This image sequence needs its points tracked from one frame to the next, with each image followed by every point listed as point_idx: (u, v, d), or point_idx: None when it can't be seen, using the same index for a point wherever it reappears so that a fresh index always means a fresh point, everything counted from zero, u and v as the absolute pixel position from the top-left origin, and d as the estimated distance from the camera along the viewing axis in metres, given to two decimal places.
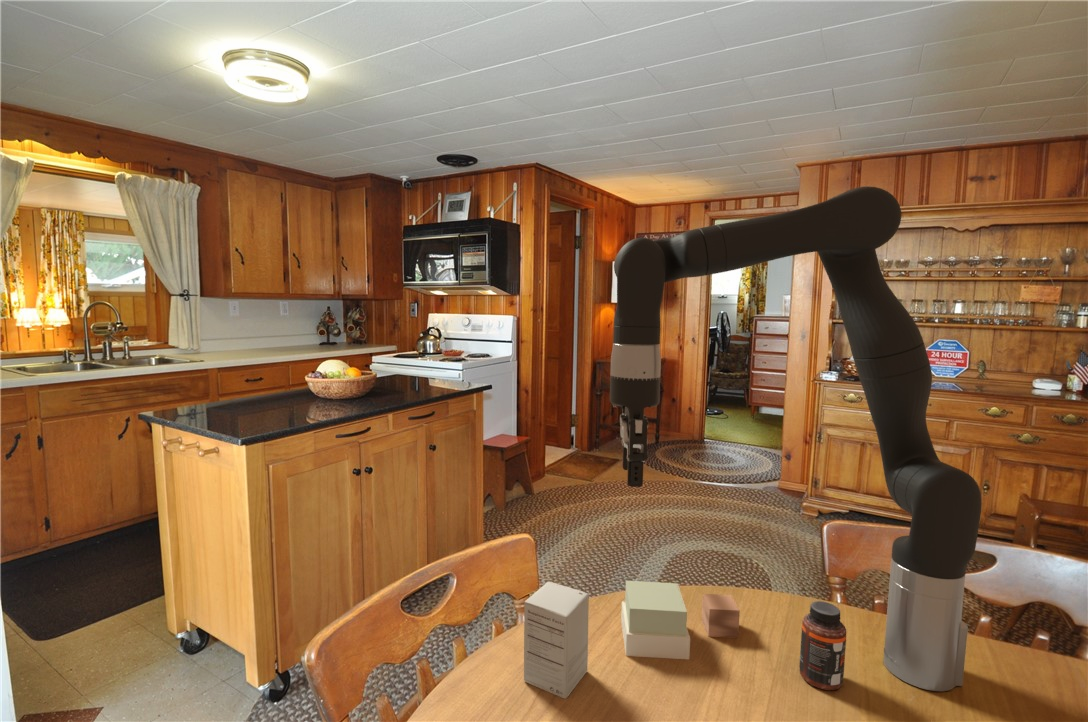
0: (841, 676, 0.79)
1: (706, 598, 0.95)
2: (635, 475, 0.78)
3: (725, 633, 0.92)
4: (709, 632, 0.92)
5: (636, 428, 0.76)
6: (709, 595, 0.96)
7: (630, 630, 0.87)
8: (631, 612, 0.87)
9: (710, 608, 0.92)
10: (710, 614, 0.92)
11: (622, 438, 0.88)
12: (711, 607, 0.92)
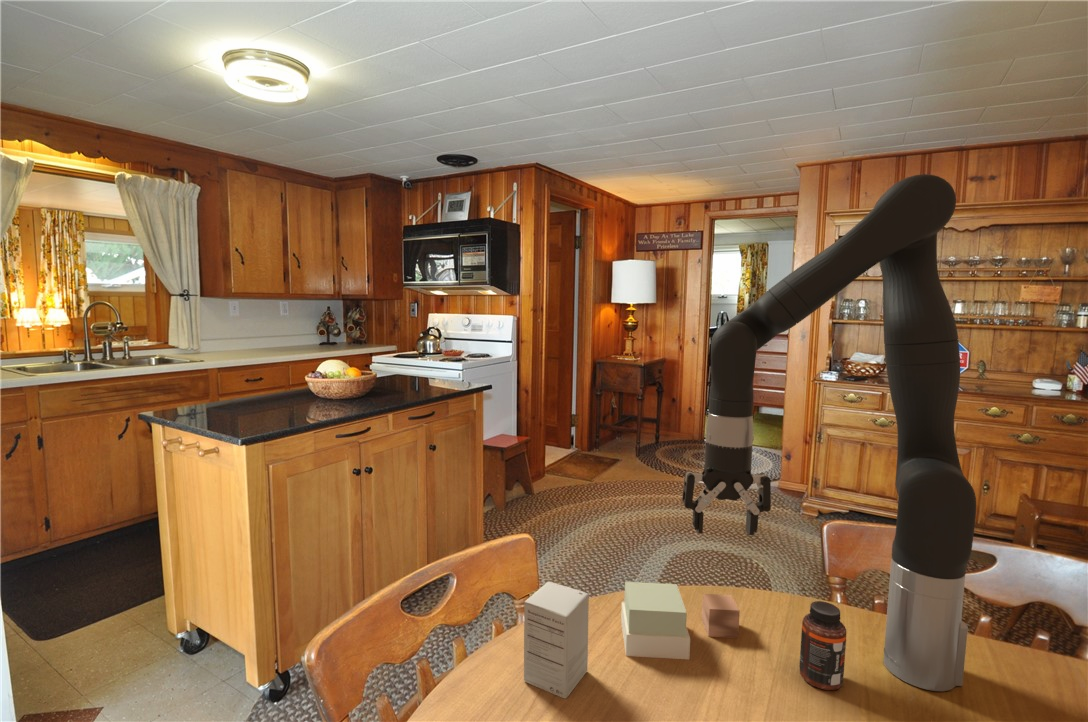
0: (841, 676, 0.79)
1: (706, 598, 0.95)
2: None
3: (725, 633, 0.92)
4: (709, 632, 0.92)
5: None
6: (709, 595, 0.96)
7: (630, 631, 0.87)
8: (631, 613, 0.86)
9: (710, 608, 0.92)
10: (710, 614, 0.92)
11: (697, 506, 0.92)
12: (711, 607, 0.92)
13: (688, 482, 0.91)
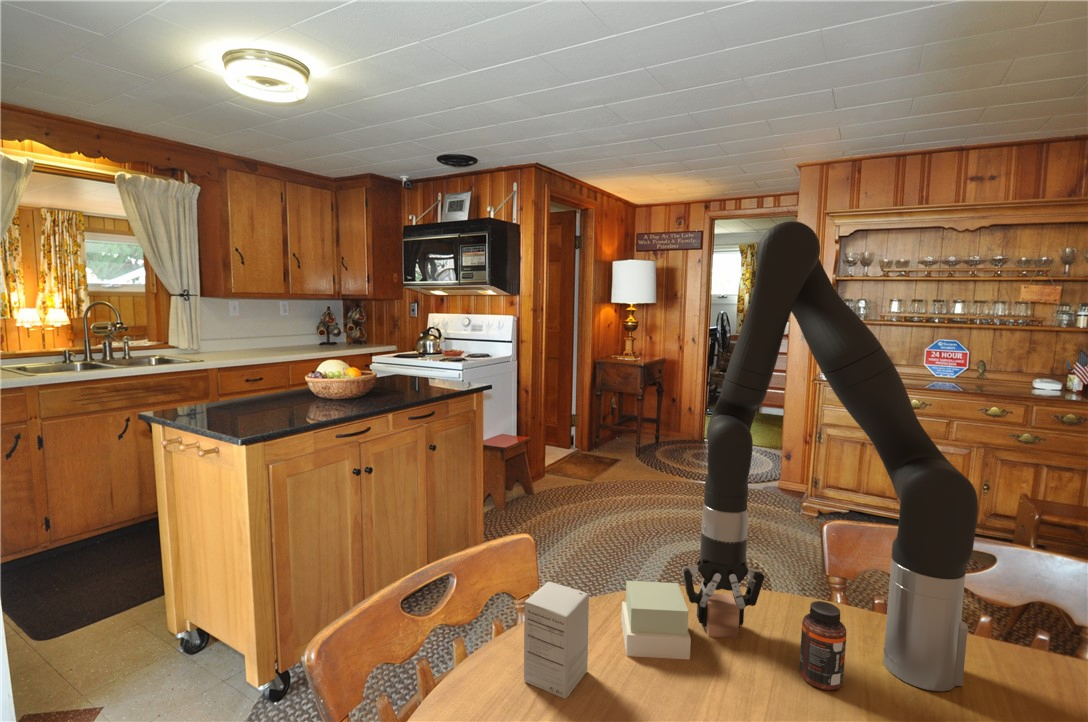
0: (841, 676, 0.79)
1: None
2: None
3: (725, 632, 0.92)
4: (709, 631, 0.92)
5: None
6: None
7: (632, 630, 0.87)
8: (633, 612, 0.87)
9: (710, 607, 0.92)
10: (710, 613, 0.92)
11: (701, 601, 0.93)
12: (711, 606, 0.92)
13: (686, 578, 0.93)
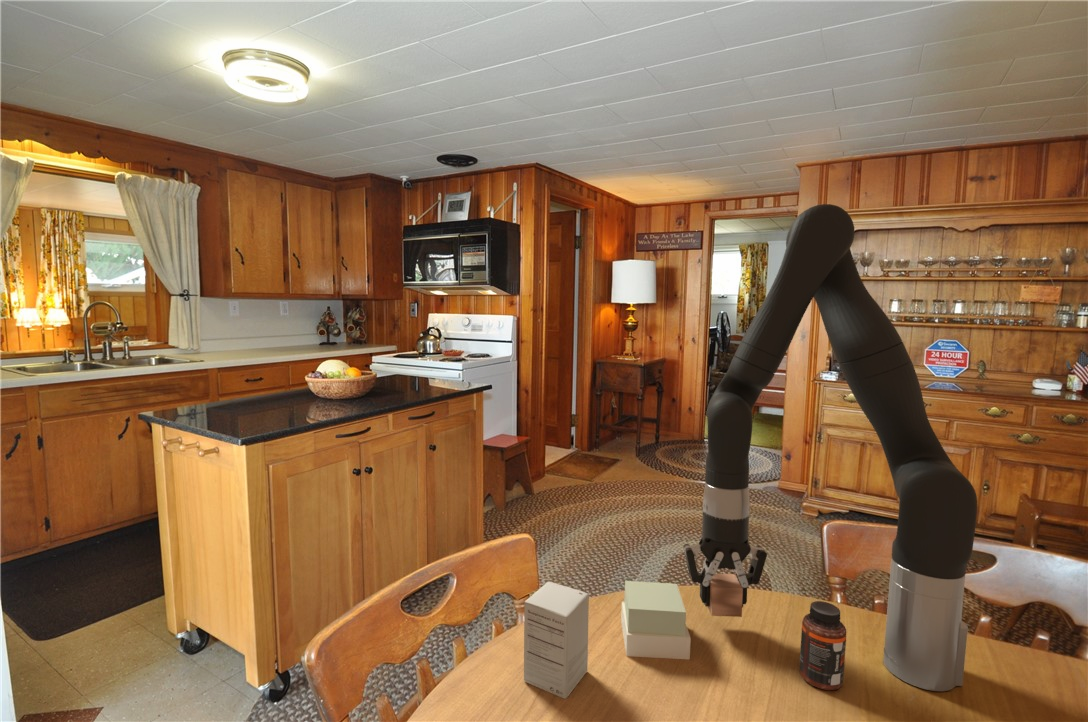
0: (841, 676, 0.79)
1: None
2: None
3: (728, 611, 0.91)
4: (713, 611, 0.92)
5: None
6: None
7: (629, 630, 0.87)
8: (630, 612, 0.87)
9: (713, 586, 0.91)
10: (713, 592, 0.91)
11: (704, 580, 0.93)
12: (714, 585, 0.92)
13: (688, 558, 0.92)
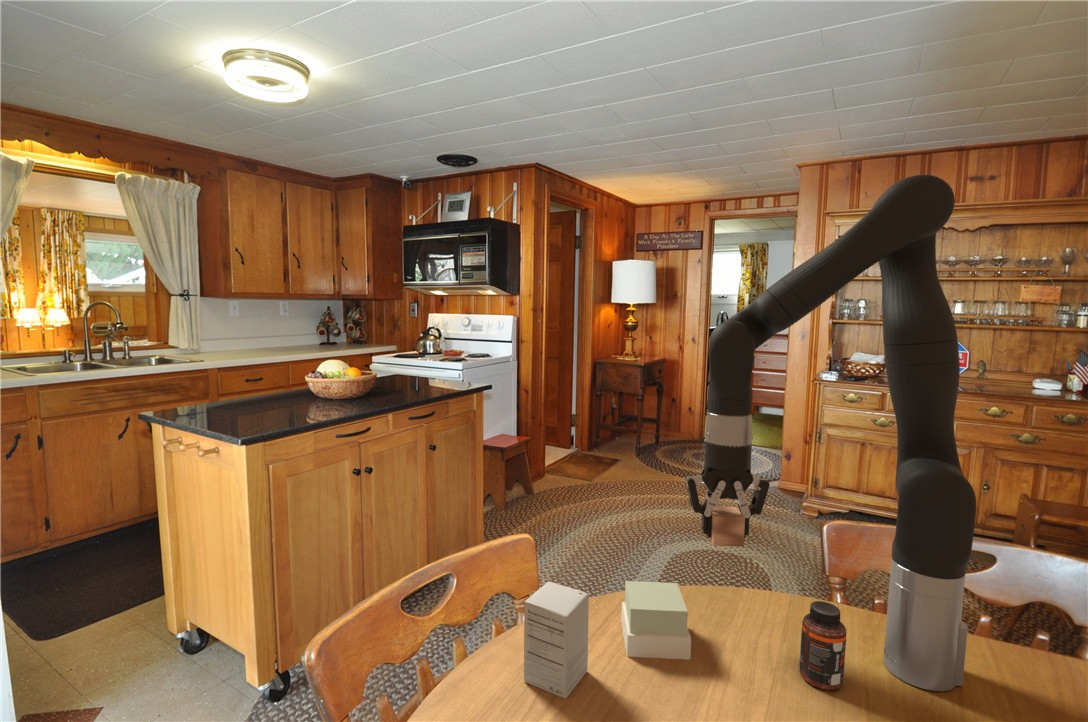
0: (841, 676, 0.79)
1: None
2: None
3: (730, 541, 0.90)
4: (714, 541, 0.91)
5: None
6: (714, 507, 0.95)
7: (631, 631, 0.87)
8: (632, 613, 0.87)
9: (715, 516, 0.91)
10: (715, 522, 0.90)
11: (705, 510, 0.92)
12: (716, 515, 0.91)
13: (690, 487, 0.91)
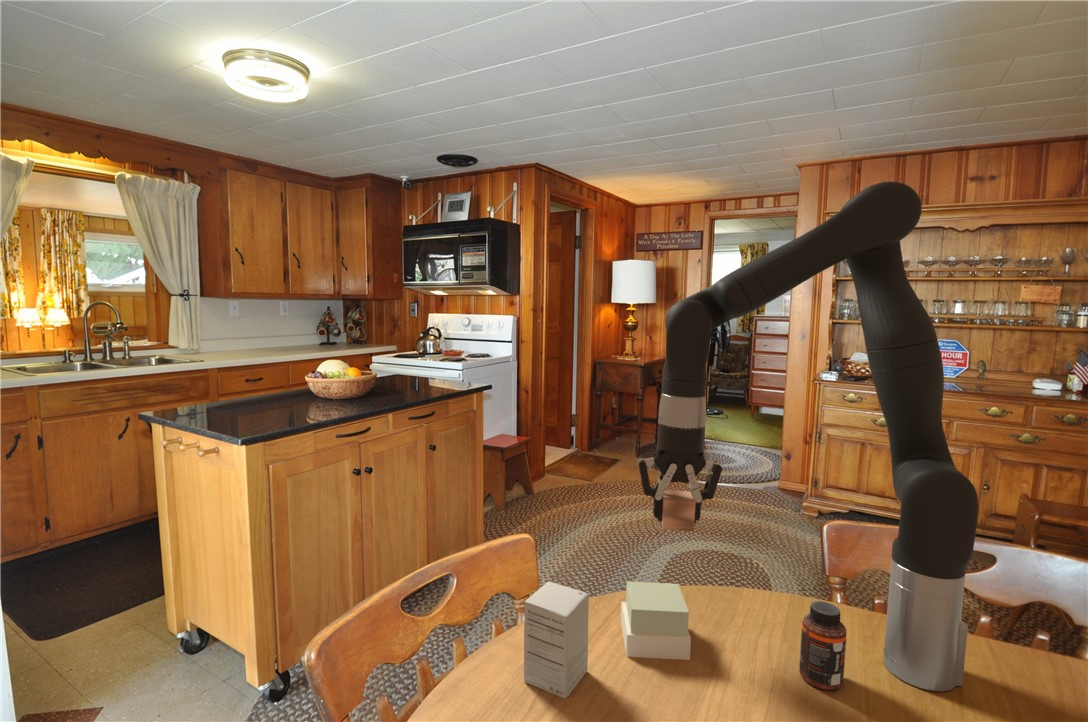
0: (841, 676, 0.79)
1: None
2: None
3: (680, 525, 0.89)
4: (664, 524, 0.89)
5: None
6: (667, 491, 0.93)
7: (632, 631, 0.87)
8: (633, 613, 0.86)
9: (665, 499, 0.89)
10: (665, 505, 0.88)
11: (656, 494, 0.90)
12: (666, 498, 0.89)
13: (641, 470, 0.89)
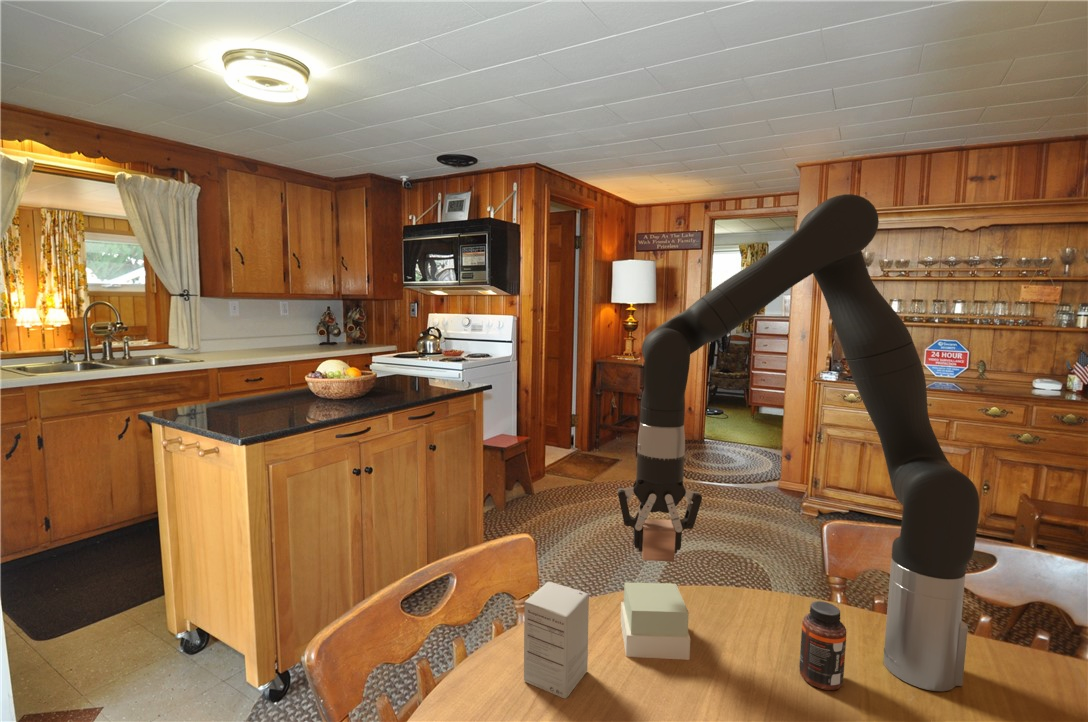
0: (841, 676, 0.79)
1: None
2: (680, 540, 0.90)
3: (660, 556, 0.88)
4: (644, 555, 0.88)
5: None
6: (647, 519, 0.92)
7: (632, 632, 0.86)
8: (633, 614, 0.86)
9: (645, 530, 0.88)
10: (645, 536, 0.87)
11: (636, 524, 0.89)
12: (646, 528, 0.88)
13: (620, 500, 0.88)
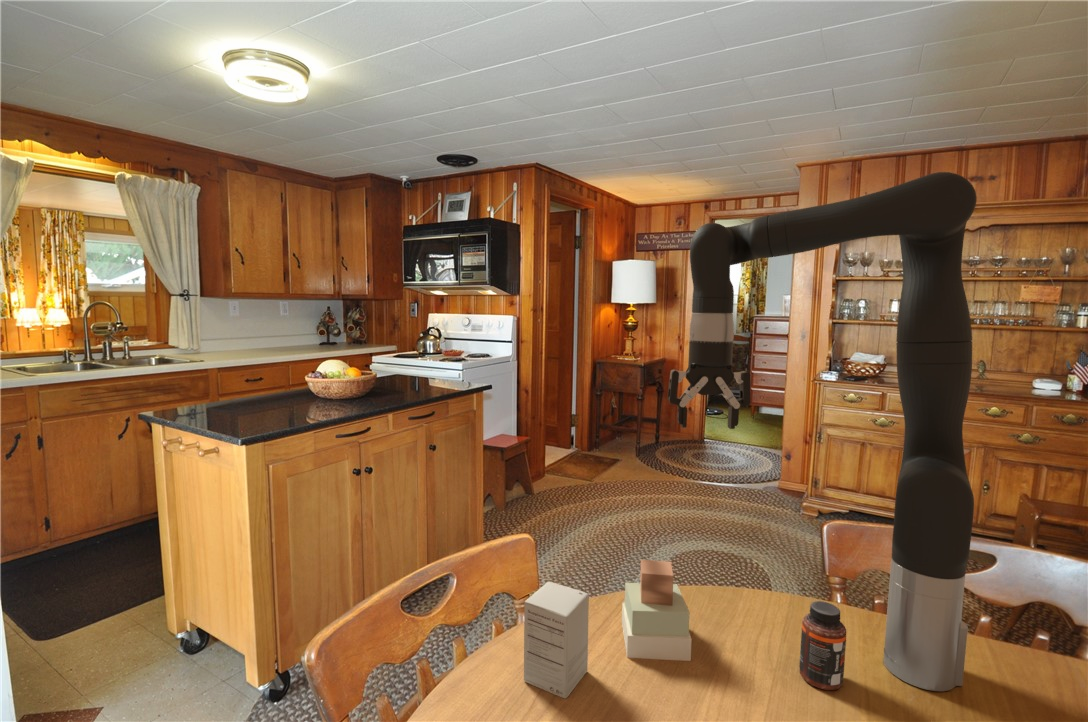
0: (841, 676, 0.79)
1: (642, 563, 0.91)
2: None
3: (659, 599, 0.88)
4: (642, 598, 0.88)
5: None
6: (647, 561, 0.92)
7: (633, 632, 0.86)
8: (634, 614, 0.86)
9: (643, 572, 0.88)
10: (642, 579, 0.88)
11: (682, 401, 0.97)
12: (644, 571, 0.88)
13: (673, 378, 0.97)
